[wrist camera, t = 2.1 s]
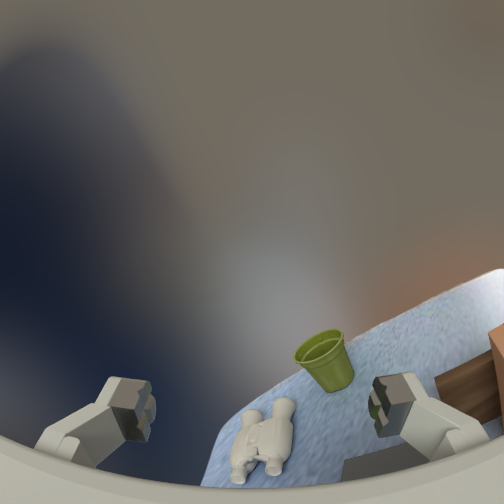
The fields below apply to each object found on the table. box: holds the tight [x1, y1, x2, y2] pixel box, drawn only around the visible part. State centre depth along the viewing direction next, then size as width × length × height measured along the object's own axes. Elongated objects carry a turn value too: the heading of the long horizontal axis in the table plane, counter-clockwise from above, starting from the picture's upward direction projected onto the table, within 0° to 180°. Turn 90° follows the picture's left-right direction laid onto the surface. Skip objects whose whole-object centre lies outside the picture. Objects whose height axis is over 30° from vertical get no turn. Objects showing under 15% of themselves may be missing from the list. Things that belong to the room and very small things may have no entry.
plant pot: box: [293, 329, 354, 393], centre depth 51 cm, size 9×9×9 cm
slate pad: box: [341, 442, 430, 482], centre depth 24 cm, size 12×12×1 cm
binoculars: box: [229, 397, 295, 484], centre depth 43 cm, size 10×16×5 cm, turn 170°
